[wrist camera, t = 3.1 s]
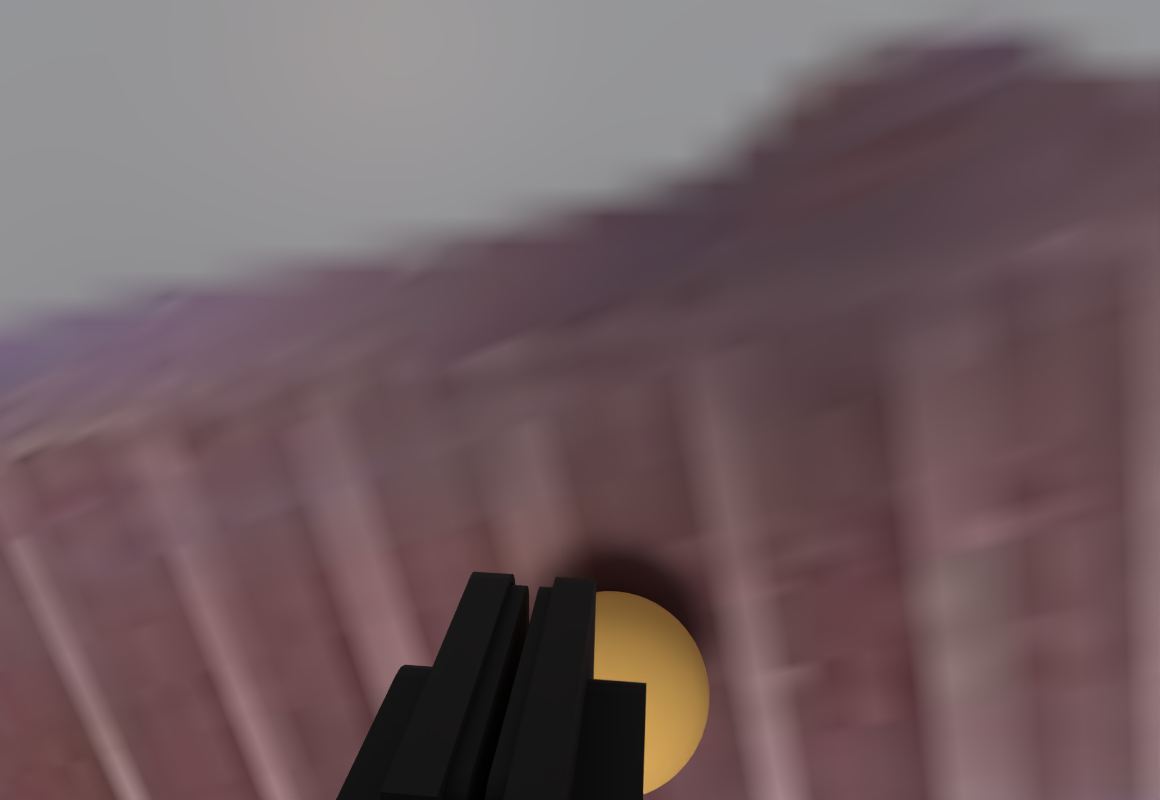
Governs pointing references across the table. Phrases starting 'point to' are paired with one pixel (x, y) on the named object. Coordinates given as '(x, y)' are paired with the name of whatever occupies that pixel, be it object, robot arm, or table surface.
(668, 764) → the ball
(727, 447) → the table surface
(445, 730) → the robot arm
